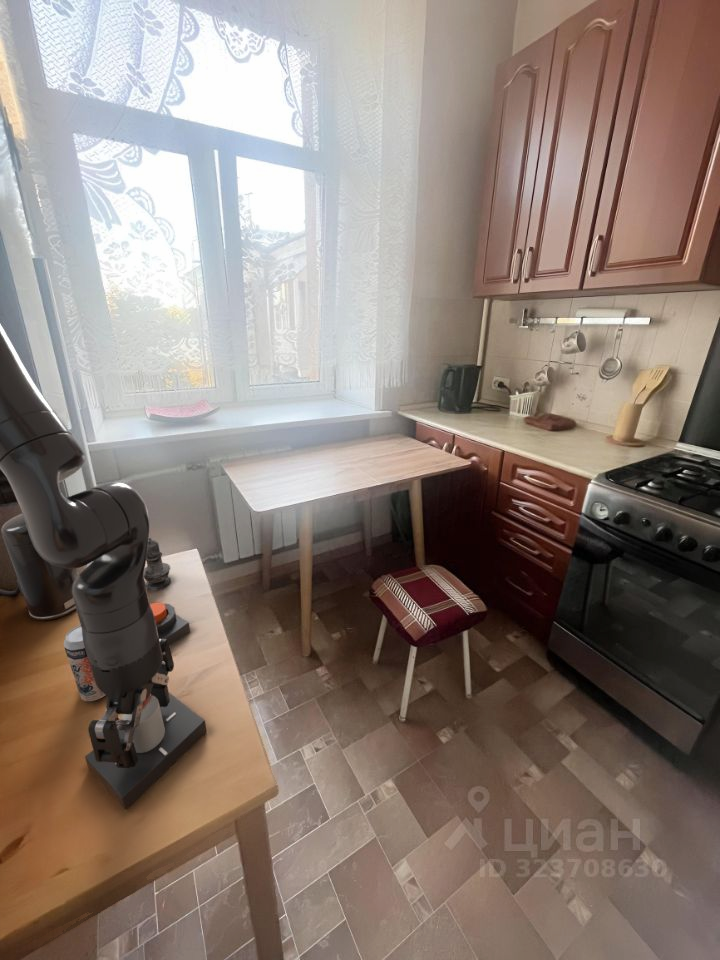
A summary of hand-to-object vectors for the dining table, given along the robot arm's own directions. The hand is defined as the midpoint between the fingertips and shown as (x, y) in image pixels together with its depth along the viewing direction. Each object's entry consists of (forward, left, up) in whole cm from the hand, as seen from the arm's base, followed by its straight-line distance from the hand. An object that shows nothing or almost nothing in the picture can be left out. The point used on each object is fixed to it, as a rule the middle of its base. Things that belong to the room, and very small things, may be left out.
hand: (146, 732), depth 54 cm
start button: (-20, +14, 0) cm, 24 cm away
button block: (-20, +14, -4) cm, 25 cm away
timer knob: (0, 0, -1) cm, 1 cm away
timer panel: (0, 0, -4) cm, 4 cm away
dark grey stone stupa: (-34, +23, -4) cm, 41 cm away
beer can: (-16, +1, -4) cm, 17 cm away
